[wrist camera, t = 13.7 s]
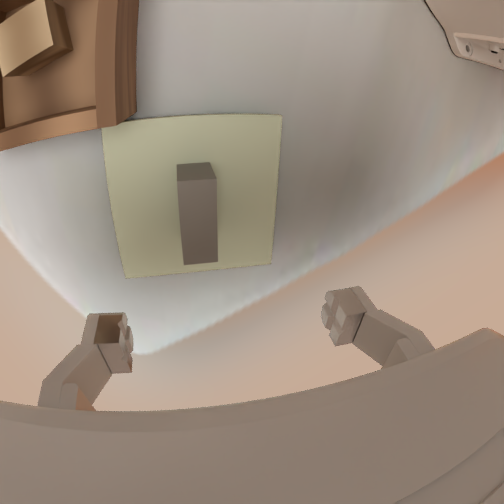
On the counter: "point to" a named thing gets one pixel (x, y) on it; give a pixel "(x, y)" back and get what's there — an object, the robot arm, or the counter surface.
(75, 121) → the crate
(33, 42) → the block
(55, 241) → the counter surface
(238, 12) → the counter surface
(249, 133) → the lid
